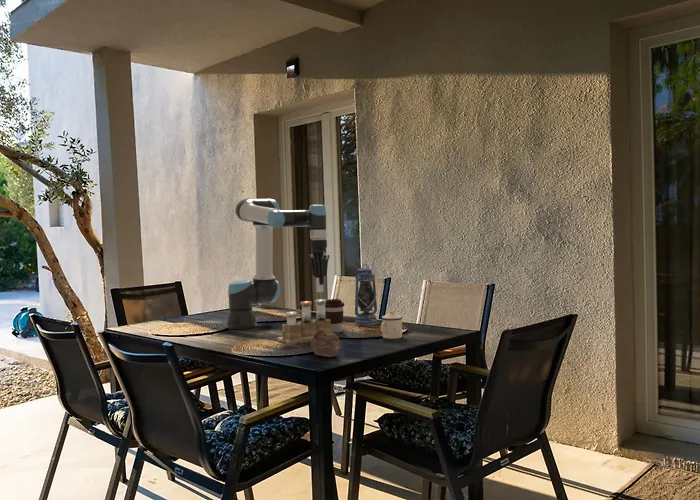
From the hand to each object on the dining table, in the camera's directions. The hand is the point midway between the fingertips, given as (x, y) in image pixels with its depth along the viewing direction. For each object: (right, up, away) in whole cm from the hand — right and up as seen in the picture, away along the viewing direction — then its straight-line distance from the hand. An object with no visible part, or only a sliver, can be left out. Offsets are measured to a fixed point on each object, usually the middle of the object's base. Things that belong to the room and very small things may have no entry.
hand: (320, 291), depth 271 cm
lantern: (+22, -19, +34) cm, 44 cm away
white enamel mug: (+31, -20, -6) cm, 38 cm away
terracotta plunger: (-6, -14, -4) cm, 16 cm away
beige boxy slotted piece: (-5, -21, -4) cm, 22 cm away
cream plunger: (-12, -19, -9) cm, 24 cm away
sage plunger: (+1, -14, +1) cm, 14 cm away
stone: (+6, -22, -40) cm, 46 cm away
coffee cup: (+6, -20, +13) cm, 25 cm away
